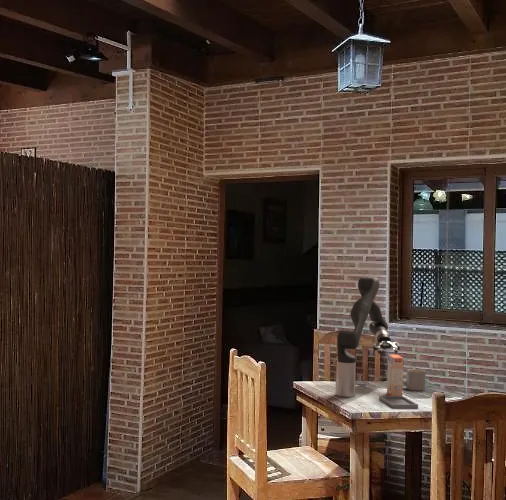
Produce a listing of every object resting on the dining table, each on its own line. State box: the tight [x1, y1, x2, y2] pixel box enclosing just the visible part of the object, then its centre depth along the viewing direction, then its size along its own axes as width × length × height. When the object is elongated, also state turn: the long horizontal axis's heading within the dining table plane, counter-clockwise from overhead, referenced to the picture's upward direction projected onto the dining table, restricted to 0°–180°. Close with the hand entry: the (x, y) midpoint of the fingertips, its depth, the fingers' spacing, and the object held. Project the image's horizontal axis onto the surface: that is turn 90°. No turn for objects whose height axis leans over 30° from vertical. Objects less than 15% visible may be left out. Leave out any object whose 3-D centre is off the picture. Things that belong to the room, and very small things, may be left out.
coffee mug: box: [403, 368, 427, 391], centre depth 370 cm, size 13×10×10 cm
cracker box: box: [386, 353, 405, 396], centre depth 346 cm, size 14×6×21 cm, turn 178°
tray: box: [379, 395, 419, 409], centre depth 327 cm, size 13×20×2 cm, turn 8°
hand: (388, 352), depth 359 cm, fingers open, 8 cm apart
